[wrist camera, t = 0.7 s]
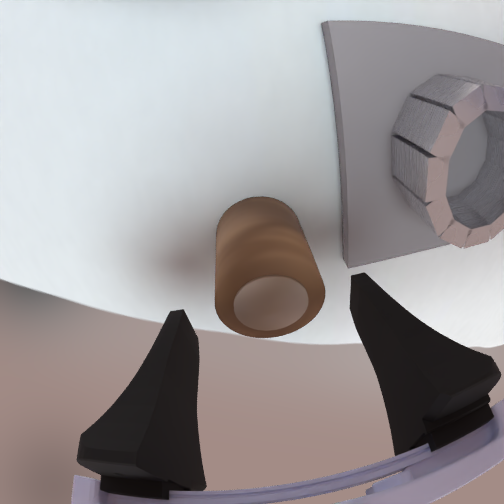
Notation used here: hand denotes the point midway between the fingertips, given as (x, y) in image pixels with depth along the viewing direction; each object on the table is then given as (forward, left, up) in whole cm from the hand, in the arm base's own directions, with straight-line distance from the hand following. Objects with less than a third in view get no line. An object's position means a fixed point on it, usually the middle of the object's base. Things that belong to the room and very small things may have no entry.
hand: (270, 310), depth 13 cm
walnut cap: (0, 0, -6) cm, 6 cm away
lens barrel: (-12, -4, -6) cm, 14 cm away
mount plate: (-12, -4, -6) cm, 14 cm away
